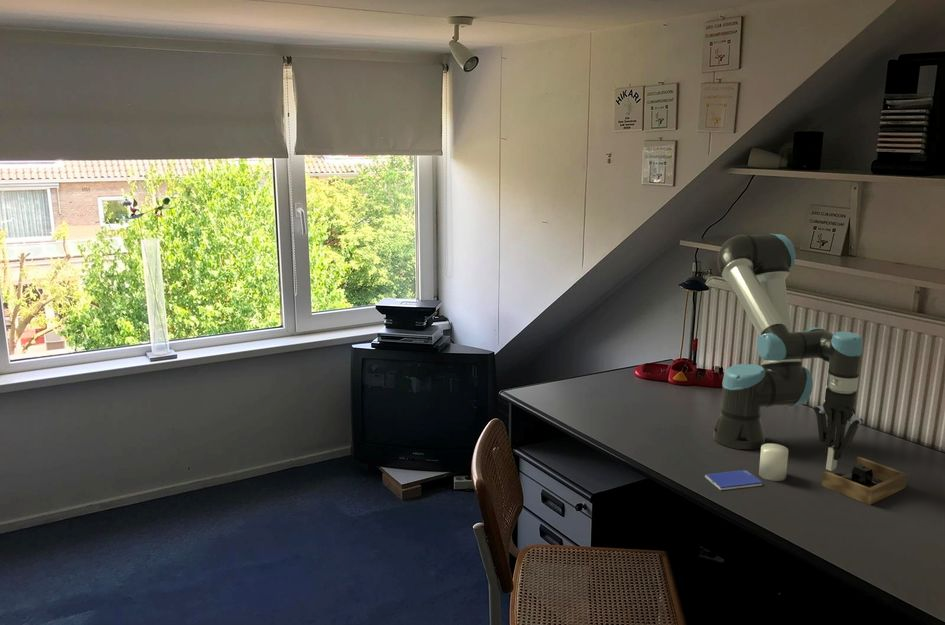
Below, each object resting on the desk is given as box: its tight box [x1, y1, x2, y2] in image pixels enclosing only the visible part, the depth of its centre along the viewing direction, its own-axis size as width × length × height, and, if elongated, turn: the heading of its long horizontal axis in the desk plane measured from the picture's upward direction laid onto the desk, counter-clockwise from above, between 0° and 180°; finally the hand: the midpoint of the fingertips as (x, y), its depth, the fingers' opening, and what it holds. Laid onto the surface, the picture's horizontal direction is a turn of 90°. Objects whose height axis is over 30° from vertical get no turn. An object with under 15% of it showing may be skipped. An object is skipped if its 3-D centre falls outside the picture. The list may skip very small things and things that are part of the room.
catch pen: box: [821, 456, 908, 506], centre depth 201 cm, size 13×17×4 cm
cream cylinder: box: [758, 443, 789, 482], centre depth 208 cm, size 7×7×8 cm
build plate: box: [839, 464, 879, 488], centre depth 204 cm, size 12×7×5 cm, turn 27°
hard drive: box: [704, 469, 763, 491], centre depth 205 cm, size 2×8×12 cm
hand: (831, 468), depth 209 cm, fingers closed
